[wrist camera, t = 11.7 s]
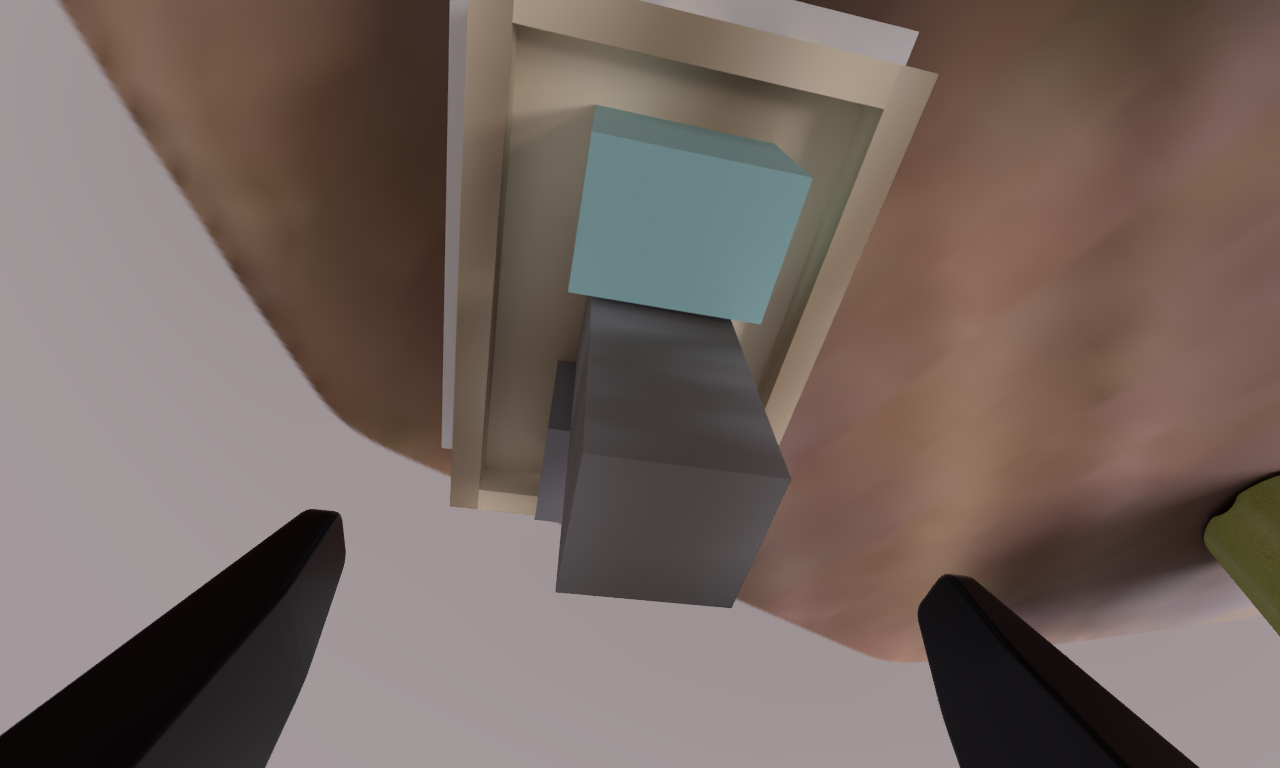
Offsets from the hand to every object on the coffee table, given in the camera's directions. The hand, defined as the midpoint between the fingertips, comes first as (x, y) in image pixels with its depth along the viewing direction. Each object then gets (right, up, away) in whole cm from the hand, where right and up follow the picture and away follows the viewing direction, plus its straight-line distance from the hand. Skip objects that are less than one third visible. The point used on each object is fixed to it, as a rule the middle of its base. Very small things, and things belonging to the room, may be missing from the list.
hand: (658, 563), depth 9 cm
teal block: (0, +7, +5) cm, 9 cm away
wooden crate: (0, +6, +9) cm, 10 cm away
